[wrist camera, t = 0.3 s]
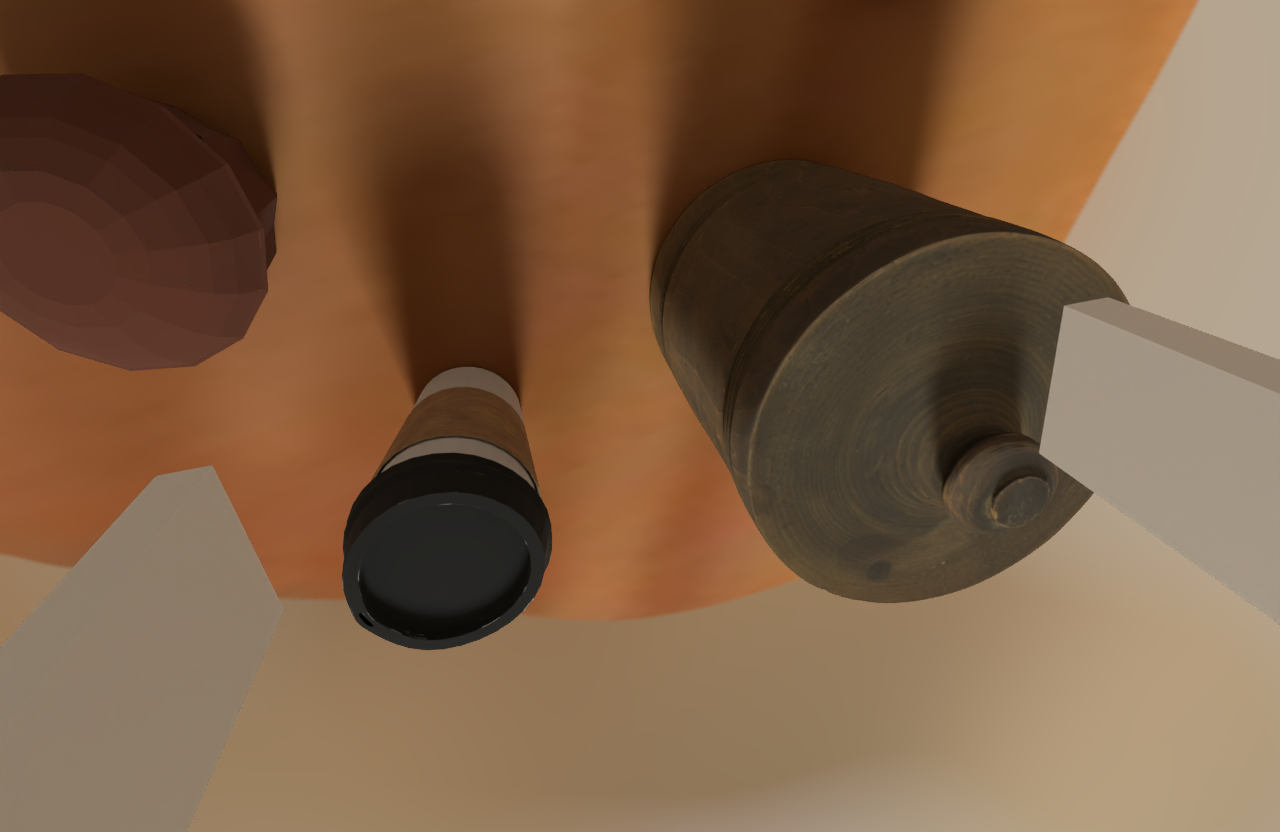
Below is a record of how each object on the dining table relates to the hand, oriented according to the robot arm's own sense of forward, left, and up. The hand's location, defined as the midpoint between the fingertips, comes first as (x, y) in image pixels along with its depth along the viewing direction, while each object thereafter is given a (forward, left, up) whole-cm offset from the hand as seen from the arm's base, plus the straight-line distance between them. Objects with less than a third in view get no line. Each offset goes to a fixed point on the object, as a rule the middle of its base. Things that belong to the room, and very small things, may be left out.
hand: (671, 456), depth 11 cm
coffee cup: (+8, -11, -28) cm, 31 cm away
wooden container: (+10, +8, -28) cm, 31 cm away
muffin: (-8, -17, -28) cm, 33 cm away
